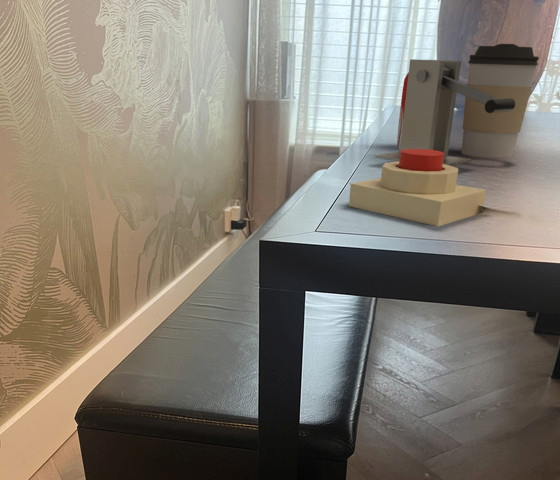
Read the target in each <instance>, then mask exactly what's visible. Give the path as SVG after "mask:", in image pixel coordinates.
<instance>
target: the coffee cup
mask: <svg viewBox="0 0 560 480" xmlns="http://www.w3.org/2000/svg"><path fill="white" fill-rule="evenodd" d="M539 60H540V57H539V56H535V54H534V50H533V47H532V46H518V45H517V44H515V43H498V44H496V45H478V47H477V49H476V51H475V52H474V54H470V55H469V60H468V62H467V64H469V65H468V74H467V83H466V85H468V86H470V87H473V88H475V89H477V90H479V91H482V92H484V93H486V94H489V95H491V96H493V97H495V98H498V99H513V100H514V101H515V107H514V109H513V110H512V111H509V112H498V113H487V112H486V111H485V105H484V104H482V103H480V102H477V101H475V100H473V99H471V98H468V97H466V96H464V97H465V98H464V107H463V108H464V109H463V119H462V120H463V121H462V129H463V132H462V133H463V134H462V142H461V143H462V144H461V154H462V155H465V156H468V157H475V158H483V159H509V158H512V157H513V154H514V152H515V151H514V150H515V147H516V143H517V139H518V136H519V133H520V132H521V129H522V126H523V121H524V119H525V114H526V111H527V106H528V103H529V99H530V96H531V92H532V88H533V86H532V84H533V79H534V75H535V72H536V68H537V66H539V64H538V61H539Z"/></svg>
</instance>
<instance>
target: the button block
mask: <svg viewBox="0 0 560 480" xmlns="http://www.w3.org/2000/svg"><path fill="white" fill-rule="evenodd" d="M458 175H459V168H458V167H455V166H454V165H451V166H450V165H445V164H443V166H442V171H412V170H406V169H400V168H399V161H390V162H385V163H384V164H383V165H382V166H381V177H380V178H374V179H368V180H362V181H358V182H352V183H350V188H349V197H348V207H350V208H355V209H359V210H363V211H368V212H372V213H377V214H382V215H386V216H391V217H395V218H399V219H403V220H408V221H413V222H418V223H421V224H426V225H430V226H434V227H441V226H443V225H444V226H445V225H447V224H450V223H454V222H457V221H459V220H463V219H466V218H470V217H473V216H477V215H479V214H483V210H484V209H483V208H484V206H483V205H484V203H485V198H486V192H487V190H486V189H483V188H477V187H471V186H466V185H460V184H457V181H458V180H457V179H458Z"/></svg>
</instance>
